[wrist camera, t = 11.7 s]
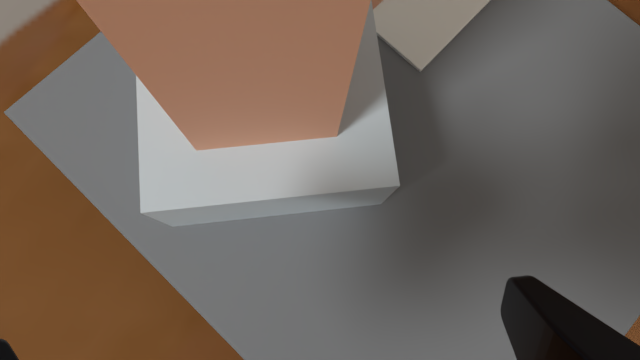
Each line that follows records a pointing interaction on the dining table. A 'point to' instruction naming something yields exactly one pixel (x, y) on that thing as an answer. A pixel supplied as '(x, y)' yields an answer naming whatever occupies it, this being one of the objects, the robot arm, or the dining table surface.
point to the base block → (272, 160)
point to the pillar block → (240, 63)
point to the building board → (405, 188)
